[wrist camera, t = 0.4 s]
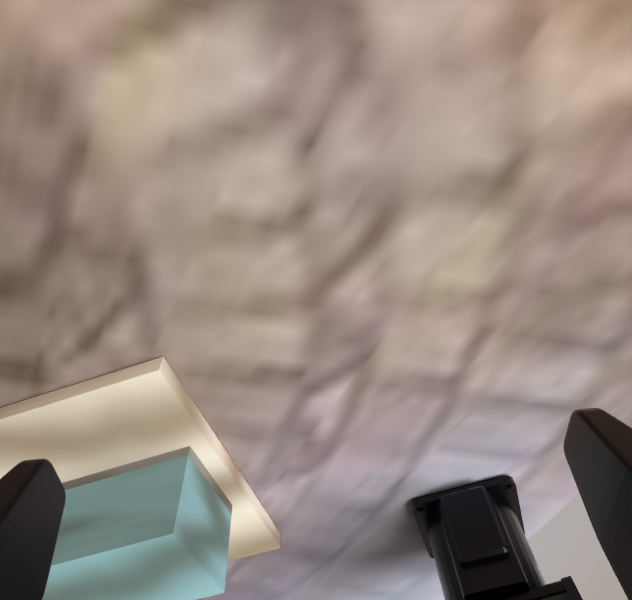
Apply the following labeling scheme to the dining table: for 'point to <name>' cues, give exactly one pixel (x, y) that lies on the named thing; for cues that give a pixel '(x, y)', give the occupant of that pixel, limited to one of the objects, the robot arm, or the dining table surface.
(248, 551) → the board
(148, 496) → the block
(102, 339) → the dining table surface
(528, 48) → the dining table surface
